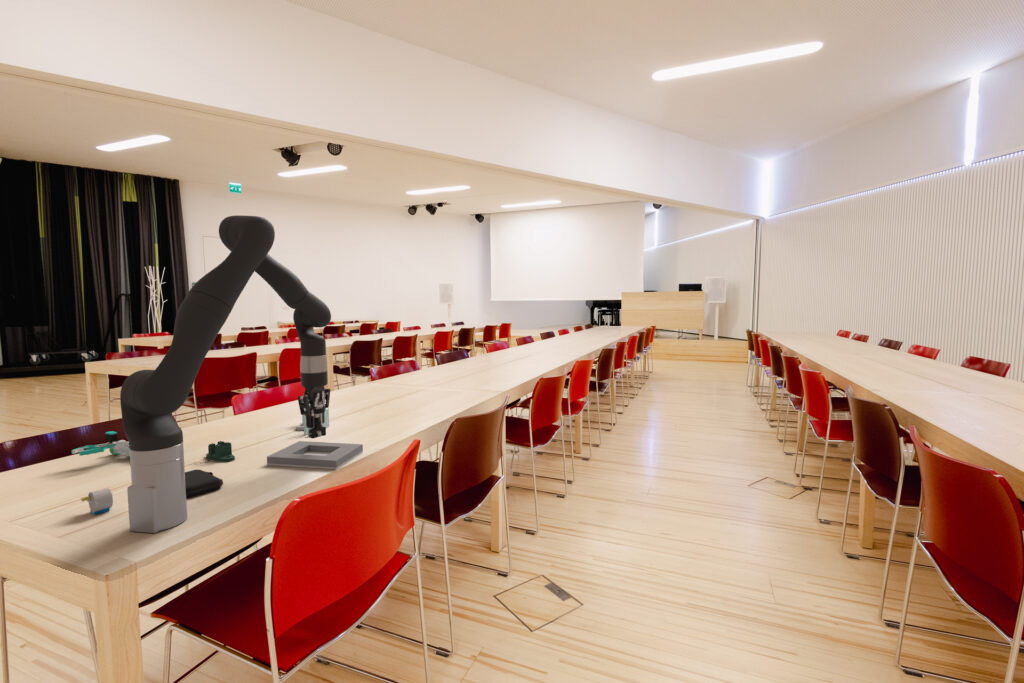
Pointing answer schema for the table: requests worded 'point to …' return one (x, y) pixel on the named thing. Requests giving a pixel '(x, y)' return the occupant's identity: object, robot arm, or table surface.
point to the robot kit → (106, 446)
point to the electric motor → (99, 501)
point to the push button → (317, 423)
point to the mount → (220, 452)
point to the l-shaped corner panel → (303, 427)
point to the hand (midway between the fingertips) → (315, 425)
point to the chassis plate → (315, 455)
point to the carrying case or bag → (201, 482)
